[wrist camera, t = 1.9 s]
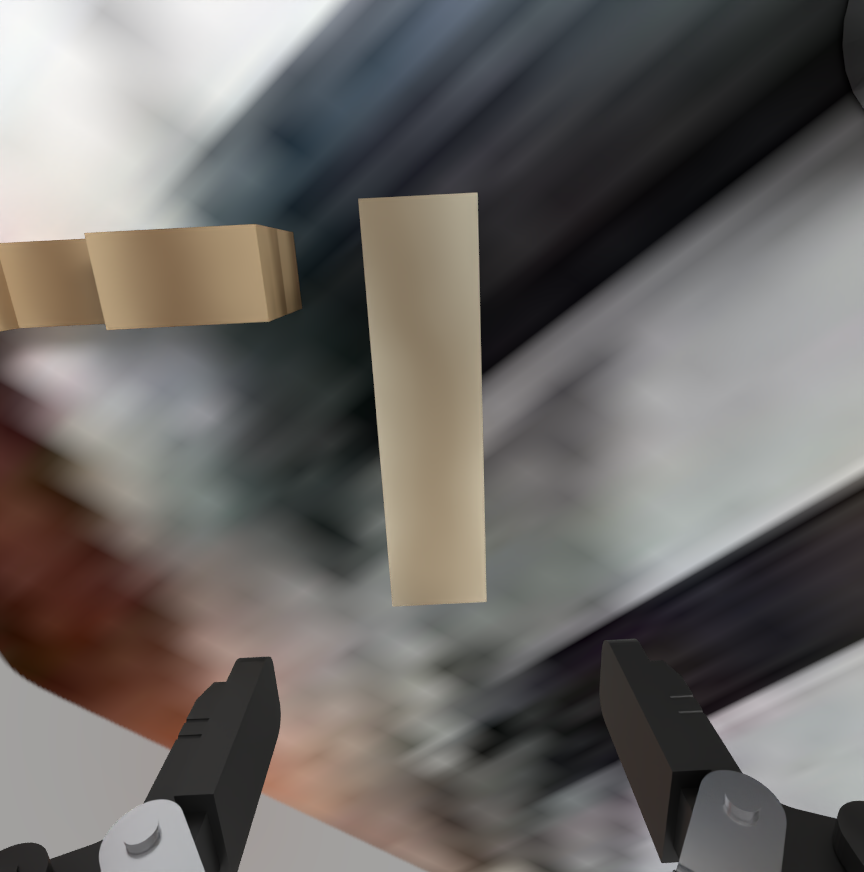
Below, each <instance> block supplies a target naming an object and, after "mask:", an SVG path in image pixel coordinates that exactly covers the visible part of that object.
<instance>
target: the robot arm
mask: <svg viewBox="0 0 864 872" xmlns="http://www.w3.org/2000/svg"><path fill="white" fill-rule="evenodd" d="M842 47H843V55H844V63H845V71H846V74H847V76H848V79H849V82H850V85H851V88H852V91H853V93H854V94H855V96H856V97H857V99H858V101H859V102H860V104H861V105H862V107H863V108H864V0H849V2H848V7H847V11H846V15H845V19H844V31H843V46H842ZM600 704H601V709H602V714H603V717H604V720H605V723H606V725H607V728H608V730H609V733H610V735H611V738H612V740H613V743H614V745H615V748H616V750H617V753H618V755H619V758H620V760H621V763H622V765H623V768H624V770H625V773H626V775H627V778H628V780H629V783H630V785H631V788H632V790H633V793H634V795H635V798H636V800H637V803H638V805H639V808H640V810H641V813H642V815H643V818H644V820H645V823H646V825H647V828H648V830H649V833H650V835H651V838H652V840H653V843H654V845H655V848H656V850H657V853H658V855H659V858H660V860H661V863H671V862H679V863H678V866H677V869H676V871H675V870H673V872H864V801H852V802H849V803H846V804H845V805H843V806H842V807H841V808H840V810H839V813H838V816H837V819H835V818H831V817H827V816H823V815H819V814H815V813H810V812H806V811H802V810H798V809H795V808H791V807H788V806H786V805H783V804H781V803H780V802H779V800H778V799H777V798H776V797H775V795H774V794H773V793H772V792H771V791H770V790H769V789H768V788H767V787H765V786H764V785H763V784H762V783H760V782H758V781H757V780H755V779H754V778H752V777H750V776H748V775H745V774H743V773H742V772H741V770H740V769H739V767H738V765H737V764H736V762H735V761H734V759H733V758H732V756H731V754H730V753H729V751H728V750H727V748H726V746H725V745H724V743H723V742H722V740H721V738H720V737H719V735H718V734H717V732H716V730H715V729H714V727H713V726H712V724H711V723H710V721H709V719H708V718H707V716H706V715H705V714H703V711H702V708H701V707H700V705H699V703H698V702H697V700H696V699H695V698H693V694H692V692H691V691H690V689H689V688H688V686H687V684H686V683H685V681H684V680H683V678H682V676H681V675H679V674H678V673H677V672H676V671H675V670H673V669H672V668H671V667H670V666H669V665H667V664H666V663H665V662H664V661H650V660H649V659H648V657H647V655H646V653H645V652H644V650H643V648H642V646H641V645H640V643H639V642H638V641H637V640H636V639H624V640H605V641H604V642H603V646H602V659H601V675H600ZM280 718H281V711H280V702H279V696H278V690H277V684H276V678H275V672H274V666H273V661H272V659H271V657H253V658H239V659H237V661H236V662H235V664H234V666H233V668H232V671H231V673H230V675H229V677H228V679H227V681H226V682H214V683H213V684H212V685H211V686H210V687H209V688H208V689H207V690H206V691H205V692H204V693H203V694H202V695H201V696H200V697H199V698H198V699H197V700H196V702H195V704H194V706H193V708H192V710H191V712H190V714H189V716H188V717H187V722H186V723H184V725H183V727H182V729H181V731H180V733H179V735H178V740H176V741H175V743H174V745H173V747H172V749H171V751H170V753H169V755H168V757H167V759H166V760H165V762H164V764H163V767H162V768H161V770H160V772H159V774H158V776H157V779H156V780H155V782H154V784H153V786H152V788H151V790H150V792H149V794H148V796H147V798H146V800H145V801H144V803H143V804H141V805H139V806H137V807H135V808H133V809H132V810H130V811H129V812H127V813H126V814H125V815H123V816H122V817H121V818H120V819H119V820H118V821H117V822H116V823H115V824H114V825H113V826H112V827H111V828H110V830H109V831H108V833H107V834H106V836H105V838H104V839H103V840H101V841H99V842H97V843H95V844H92V845H89V846H86V847H84V848H81V849H78V850H75V851H72V852H70V853H66V854H64V855H61V856H58V857H55V858H52V859H49V856H48V853H47V851H46V849H45V848H44V847H43V846H41V845H39V844H36V843H22V844H17V845H14V846H11V847H8V848H6V849H4V850H2V851H0V872H237V871H238V867H239V864H240V861H241V858H242V854H243V851H244V848H245V844H246V841H247V838H248V835H249V831H250V828H251V824H252V821H253V818H254V814H255V811H256V808H257V805H258V801H259V798H260V795H261V791H262V788H263V785H264V781H265V778H266V775H267V771H268V768H269V765H270V761H271V758H272V755H273V751H274V748H275V745H276V741H277V738H278V734H279V729H280Z"/></svg>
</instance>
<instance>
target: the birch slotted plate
mask: <svg viewBox="0 0 864 872" xmlns="http://www.w3.org/2000/svg"><path fill="white" fill-rule="evenodd" d="M358 201H359V213H360V225H361V237H362V249H363V260H364V272H365V284H366V296H367V308H368V320H369V332H370V344H371V356H372V367H373V379H374V391H375V403H376V415H377V427H378V439H379V451H380V463H381V475H382V486H383V498H384V510H385V522H386V534H387V546H388V558H389V570H390V582H391V593H392V605H393V606H412V605H432V604H452V603H472V602H486V557H485V511H484V465H483V419H482V373H481V327H480V282H479V236H478V193H460V194H441V195H422V196H403V197H383V198H364V199H358Z"/></svg>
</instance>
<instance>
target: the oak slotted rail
mask: <svg viewBox="0 0 864 872" xmlns="http://www.w3.org/2000/svg"><path fill="white" fill-rule="evenodd" d="M84 234H85V238H86V239H71V240H52V241H33V242H14V243H0V331H6V330H12V329H18V328H33V327H52V326H71V325H91V324H105V325H106V329H107V330H117V329H136V328H155V327H175V326H194V325H213V324H233V323H252V322H269V321H272V320H274V319H277V318H279V317H282V316H284V315H287V314H290V313H292V312H295V311H297V310H300V309H302V303H301V294H300V286H299V278H298V269H297V261H296V253H295V245H294V236H293V232H289V231H285V230H280V229H275V228H271V227H266V226H261V225H257V224H249V225H230V226H211V227H192V228H173V229H153V230H134V231H115V232H96V233H84Z"/></svg>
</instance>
